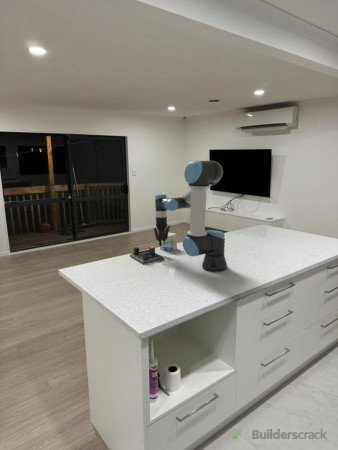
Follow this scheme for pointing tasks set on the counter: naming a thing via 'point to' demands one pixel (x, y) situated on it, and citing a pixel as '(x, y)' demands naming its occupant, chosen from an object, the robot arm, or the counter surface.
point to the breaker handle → (151, 250)
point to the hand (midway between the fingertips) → (162, 249)
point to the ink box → (171, 242)
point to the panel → (151, 257)
